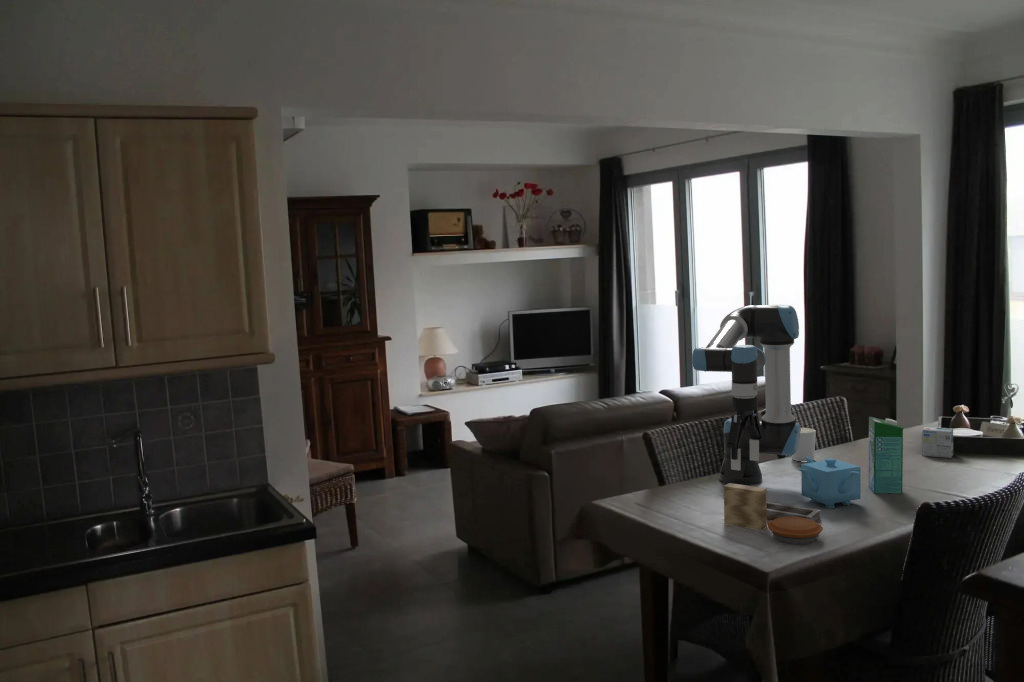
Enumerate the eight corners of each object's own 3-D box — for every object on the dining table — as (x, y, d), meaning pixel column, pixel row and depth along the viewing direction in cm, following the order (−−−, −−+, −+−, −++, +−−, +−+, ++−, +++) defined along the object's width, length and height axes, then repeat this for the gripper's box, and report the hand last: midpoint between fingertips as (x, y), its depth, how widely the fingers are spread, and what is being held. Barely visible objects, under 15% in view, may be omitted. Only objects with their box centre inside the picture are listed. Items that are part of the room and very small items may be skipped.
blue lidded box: (860, 497, 283) (861, 454, 282) (859, 513, 266) (860, 467, 265) (801, 493, 291) (801, 451, 290) (797, 508, 274) (796, 464, 272)
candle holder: (784, 458, 339) (784, 429, 338) (805, 455, 342) (805, 426, 341) (800, 463, 330) (800, 433, 329) (821, 461, 333) (821, 431, 332)
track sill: (747, 516, 267) (747, 507, 267) (759, 509, 274) (759, 500, 274) (810, 527, 255) (810, 517, 254) (820, 519, 262) (820, 510, 261)
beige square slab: (724, 523, 261) (723, 486, 260) (730, 520, 264) (729, 482, 263) (761, 530, 253) (760, 491, 252) (766, 526, 257) (766, 488, 256)
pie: (806, 527, 255) (806, 511, 254) (833, 544, 240) (833, 527, 239) (758, 532, 252) (758, 516, 252) (782, 549, 237) (782, 532, 237)
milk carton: (902, 493, 285) (903, 421, 283) (874, 493, 287) (874, 421, 285) (895, 486, 294) (896, 416, 292) (868, 486, 296) (868, 416, 294)
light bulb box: (953, 454, 336) (953, 428, 335) (951, 458, 330) (952, 431, 329) (923, 452, 341) (924, 426, 340) (921, 455, 336) (922, 429, 335)
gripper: (739, 403, 243) (739, 475, 245) (772, 391, 262) (773, 458, 264) (714, 401, 248) (715, 472, 250) (749, 389, 267) (750, 455, 269)
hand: (745, 465), depth 257 cm, fingers open, 13 cm apart
